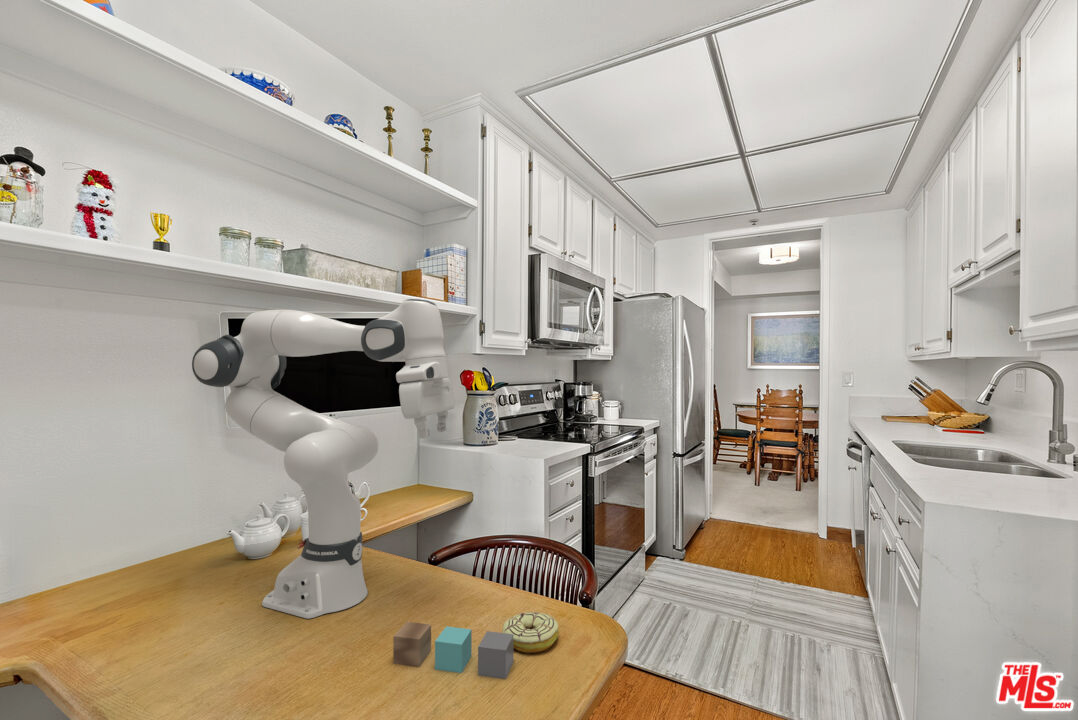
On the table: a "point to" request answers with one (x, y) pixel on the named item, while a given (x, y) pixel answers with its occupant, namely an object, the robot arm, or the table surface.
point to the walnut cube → (412, 644)
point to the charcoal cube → (495, 655)
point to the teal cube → (453, 649)
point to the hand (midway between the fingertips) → (433, 434)
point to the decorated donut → (532, 631)
